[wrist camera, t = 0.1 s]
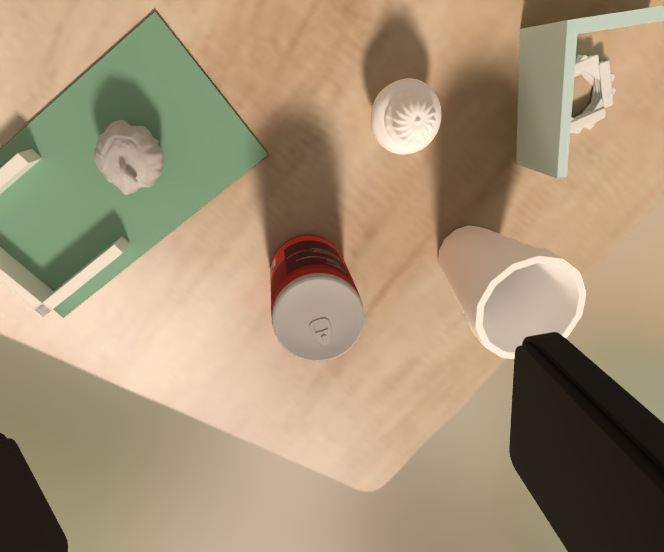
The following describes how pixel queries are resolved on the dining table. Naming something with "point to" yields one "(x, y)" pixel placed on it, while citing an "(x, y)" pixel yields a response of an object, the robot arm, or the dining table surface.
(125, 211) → the felt mat
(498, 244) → the foam cup
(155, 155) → the garlic
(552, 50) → the right angle wall
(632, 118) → the dining table surface
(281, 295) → the canned food
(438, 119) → the muffin
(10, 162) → the white u-shaped frame
